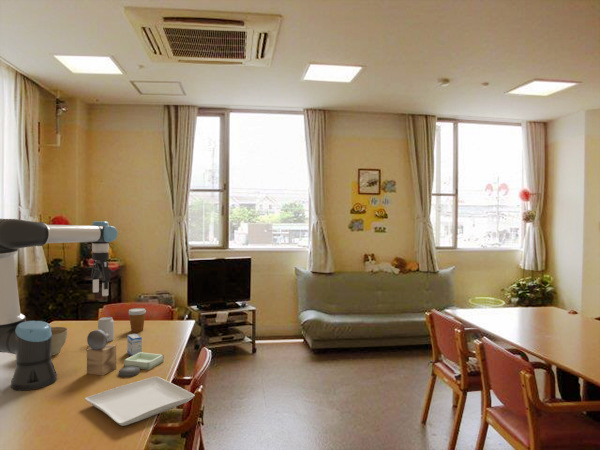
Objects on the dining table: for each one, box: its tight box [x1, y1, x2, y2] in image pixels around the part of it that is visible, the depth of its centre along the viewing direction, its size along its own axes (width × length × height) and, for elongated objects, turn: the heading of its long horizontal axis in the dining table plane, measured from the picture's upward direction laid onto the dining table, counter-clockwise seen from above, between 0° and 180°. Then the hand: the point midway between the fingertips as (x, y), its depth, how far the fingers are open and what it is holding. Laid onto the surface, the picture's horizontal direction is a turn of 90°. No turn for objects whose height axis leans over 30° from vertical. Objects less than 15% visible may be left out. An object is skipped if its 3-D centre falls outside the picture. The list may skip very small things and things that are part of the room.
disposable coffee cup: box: [128, 307, 147, 333], centre depth 237 cm, size 10×10×12 cm
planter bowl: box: [51, 326, 69, 357], centre depth 196 cm, size 16×16×11 cm
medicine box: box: [126, 333, 143, 357], centre depth 197 cm, size 8×4×9 cm, turn 40°
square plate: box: [84, 375, 195, 427], centre depth 144 cm, size 27×27×4 cm
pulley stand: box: [86, 328, 117, 376], centre depth 175 cm, size 8×8×18 cm
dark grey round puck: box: [118, 367, 140, 378], centre depth 173 cm, size 8×8×2 cm
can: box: [97, 316, 115, 343], centre depth 217 cm, size 8×8×12 cm
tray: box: [123, 351, 165, 371], centre depth 184 cm, size 11×13×3 cm
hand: (100, 294), depth 209 cm, fingers open, 13 cm apart
